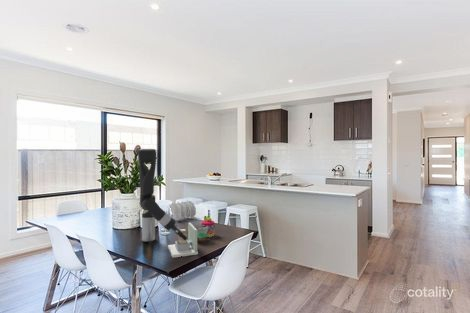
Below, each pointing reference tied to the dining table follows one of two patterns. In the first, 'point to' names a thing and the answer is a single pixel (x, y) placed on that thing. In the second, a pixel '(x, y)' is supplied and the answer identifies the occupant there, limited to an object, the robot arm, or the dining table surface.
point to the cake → (210, 225)
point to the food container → (202, 234)
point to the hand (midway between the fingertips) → (185, 237)
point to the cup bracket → (188, 248)
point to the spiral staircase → (183, 210)
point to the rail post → (180, 239)
